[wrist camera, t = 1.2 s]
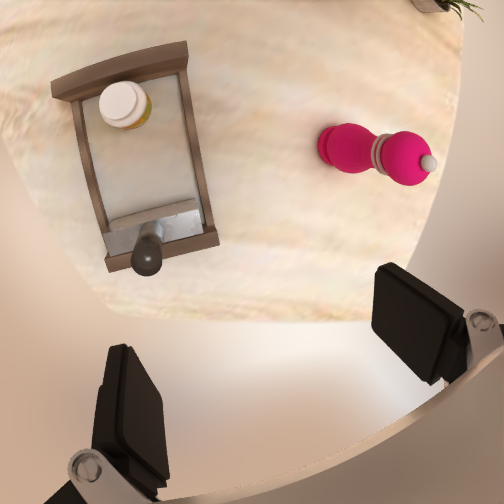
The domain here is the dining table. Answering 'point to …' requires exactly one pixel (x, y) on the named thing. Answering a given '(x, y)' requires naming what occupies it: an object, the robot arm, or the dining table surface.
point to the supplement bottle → (124, 105)
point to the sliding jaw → (152, 233)
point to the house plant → (440, 6)
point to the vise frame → (136, 70)
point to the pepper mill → (377, 153)
